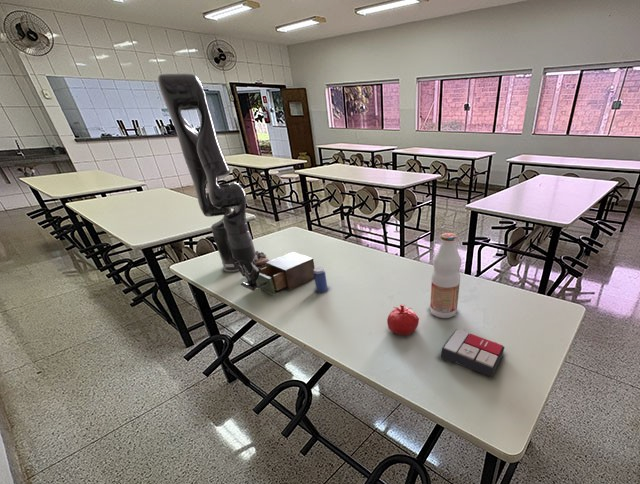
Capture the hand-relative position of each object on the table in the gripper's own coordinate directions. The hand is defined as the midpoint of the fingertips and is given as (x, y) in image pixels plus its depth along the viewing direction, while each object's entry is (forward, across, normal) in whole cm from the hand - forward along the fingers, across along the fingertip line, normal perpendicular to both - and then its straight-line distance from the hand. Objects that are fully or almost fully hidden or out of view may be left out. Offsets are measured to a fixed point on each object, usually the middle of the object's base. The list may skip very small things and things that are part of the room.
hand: (253, 287), depth 119 cm
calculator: (+4, -82, -16) cm, 84 cm away
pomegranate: (+4, -58, -15) cm, 60 cm away
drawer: (+3, 0, -7) cm, 8 cm away
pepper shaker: (+4, -16, -18) cm, 25 cm away
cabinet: (+4, 0, -18) cm, 18 cm away
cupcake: (+4, +15, -13) cm, 20 cm away
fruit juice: (+4, -64, -32) cm, 72 cm away
